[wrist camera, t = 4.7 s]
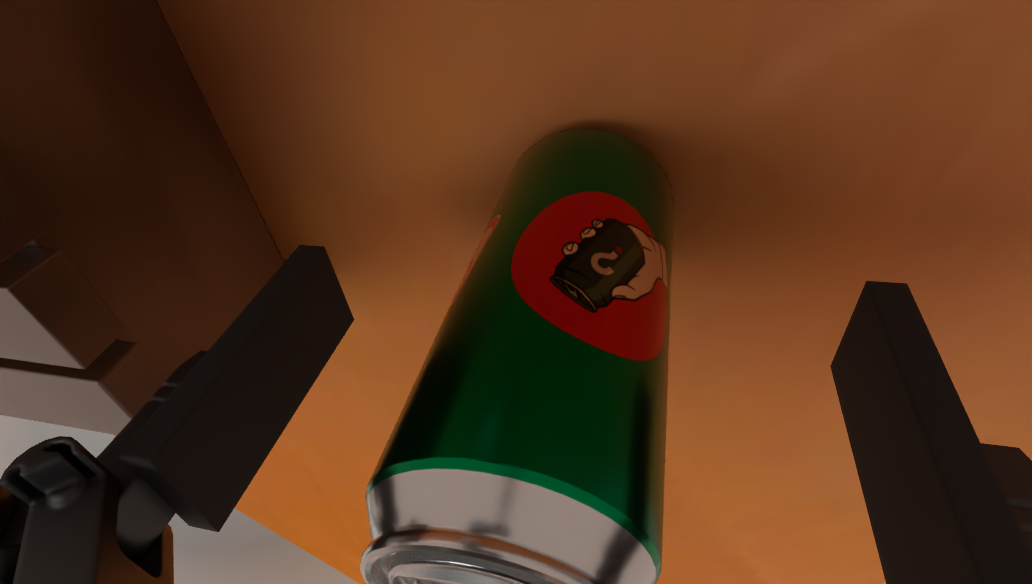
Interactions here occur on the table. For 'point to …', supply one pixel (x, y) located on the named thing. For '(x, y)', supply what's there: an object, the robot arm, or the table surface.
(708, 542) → the table surface
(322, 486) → the table surface
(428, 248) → the table surface
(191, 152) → the dark brown wooden bench
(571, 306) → the soda can
